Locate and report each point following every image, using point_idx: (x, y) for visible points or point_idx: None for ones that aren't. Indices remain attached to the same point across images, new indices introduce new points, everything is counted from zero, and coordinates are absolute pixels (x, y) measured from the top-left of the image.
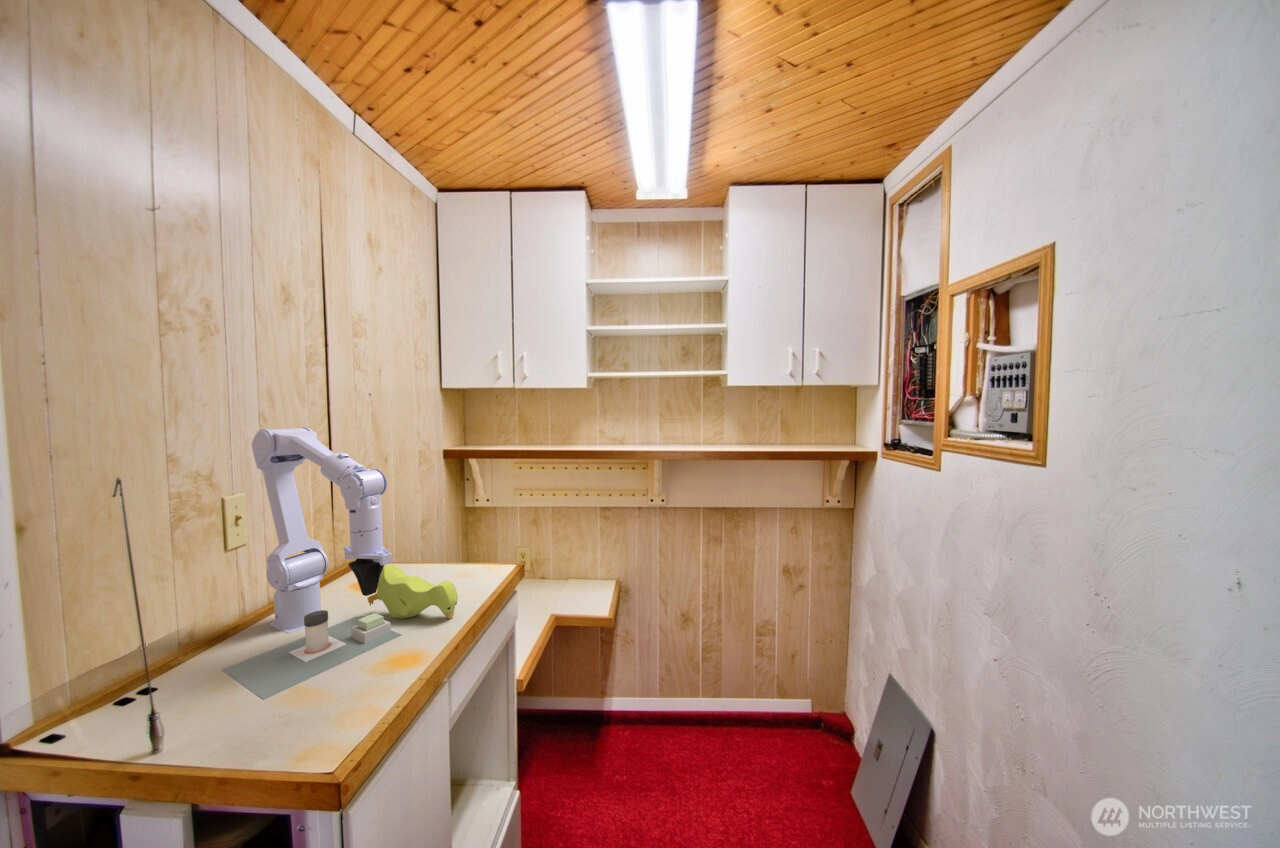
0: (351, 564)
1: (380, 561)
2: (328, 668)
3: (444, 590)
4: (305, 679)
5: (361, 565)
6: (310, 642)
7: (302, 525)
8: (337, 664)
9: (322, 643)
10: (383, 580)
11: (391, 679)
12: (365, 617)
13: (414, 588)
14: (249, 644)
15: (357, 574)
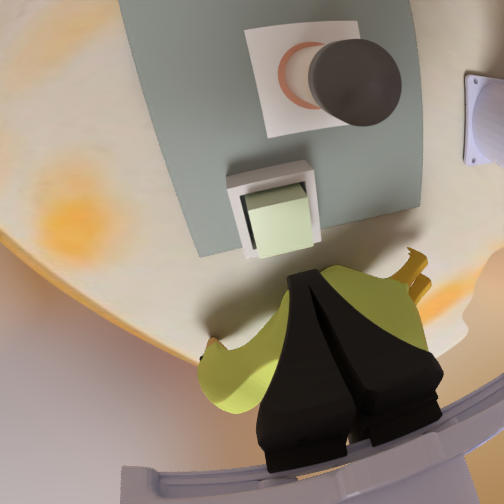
0: (398, 387)
1: (138, 486)
2: (142, 74)
3: (207, 394)
4: (125, 23)
5: (265, 435)
6: (304, 51)
7: None
8: (147, 95)
9: (290, 81)
10: (391, 332)
11: (16, 193)
12: (303, 219)
13: None
14: (480, 18)
15: (348, 343)
